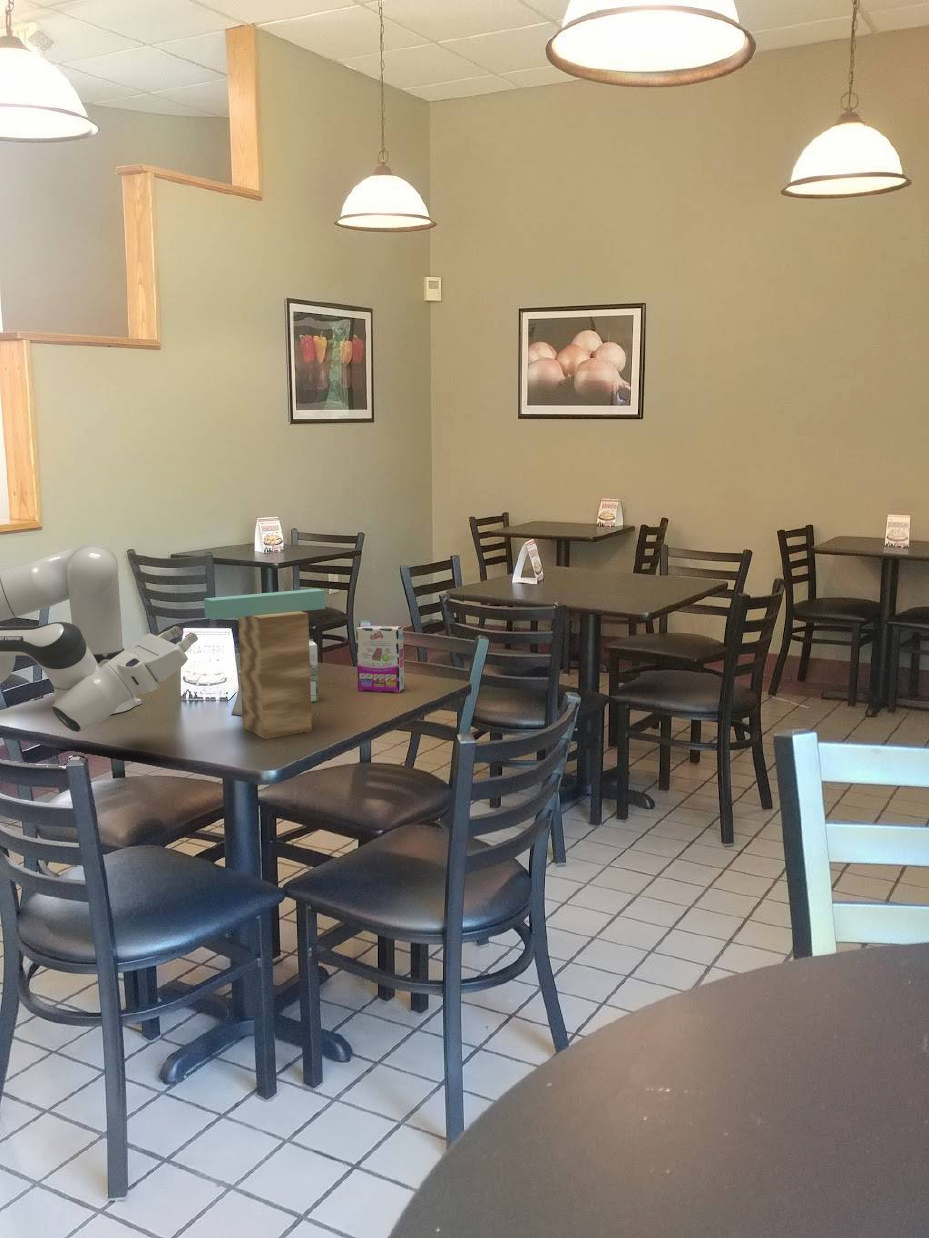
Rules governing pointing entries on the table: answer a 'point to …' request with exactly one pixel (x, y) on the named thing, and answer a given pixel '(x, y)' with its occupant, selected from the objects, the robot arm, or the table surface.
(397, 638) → the candy bar box
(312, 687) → the syrup box
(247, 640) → the oak stand
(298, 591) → the teal block
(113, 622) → the robot arm
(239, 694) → the flask
